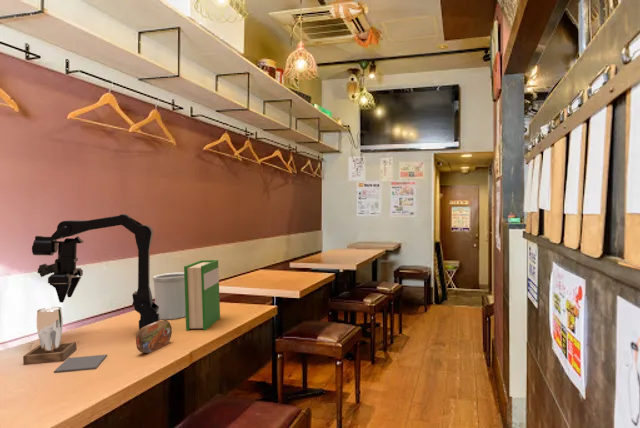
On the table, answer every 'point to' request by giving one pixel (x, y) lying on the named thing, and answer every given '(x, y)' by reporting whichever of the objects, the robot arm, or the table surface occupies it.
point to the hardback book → (202, 294)
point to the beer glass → (50, 329)
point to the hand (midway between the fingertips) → (65, 299)
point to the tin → (153, 336)
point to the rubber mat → (81, 363)
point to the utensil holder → (170, 295)
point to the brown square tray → (49, 354)
